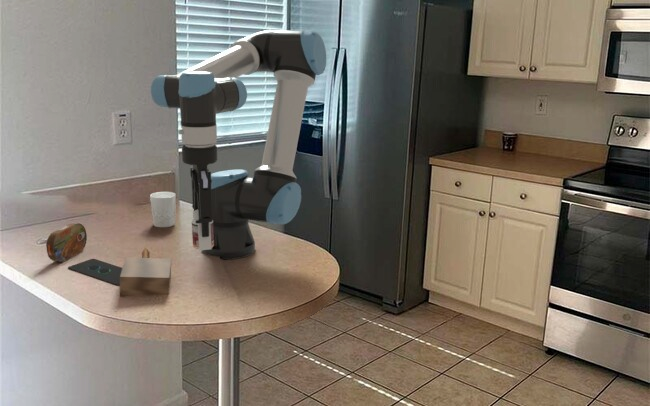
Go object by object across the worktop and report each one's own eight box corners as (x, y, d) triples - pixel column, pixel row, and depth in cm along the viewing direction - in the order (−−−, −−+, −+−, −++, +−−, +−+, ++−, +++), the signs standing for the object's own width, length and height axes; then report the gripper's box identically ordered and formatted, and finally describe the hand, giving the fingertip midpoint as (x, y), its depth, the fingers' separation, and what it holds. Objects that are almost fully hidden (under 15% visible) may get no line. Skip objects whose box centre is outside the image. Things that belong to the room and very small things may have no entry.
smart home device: (93, 257, 164) (144, 274, 154) (93, 263, 165) (145, 280, 154) (66, 266, 157) (118, 284, 147) (66, 273, 158) (118, 291, 148)
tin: (56, 266, 161) (53, 236, 159) (45, 265, 161) (42, 235, 159) (88, 247, 175) (86, 219, 173) (78, 246, 176) (76, 218, 173)
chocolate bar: (150, 253, 173) (150, 246, 172) (151, 268, 162) (150, 260, 161) (140, 254, 172) (140, 246, 172) (141, 269, 161) (140, 261, 160)
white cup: (151, 221, 200) (149, 192, 197) (175, 220, 202) (174, 191, 200) (152, 229, 193) (150, 198, 190) (177, 227, 195) (176, 197, 192)
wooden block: (170, 276, 154) (171, 258, 153) (168, 297, 144) (169, 277, 142) (125, 276, 152) (125, 257, 150) (119, 296, 142) (119, 276, 140)
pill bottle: (204, 241, 142) (203, 207, 140) (218, 246, 139) (217, 211, 137) (188, 246, 139) (186, 211, 136) (202, 251, 136) (200, 215, 134)
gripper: (176, 138, 139) (181, 234, 146) (187, 153, 123) (192, 260, 130) (209, 136, 142) (212, 231, 148) (224, 151, 126) (227, 257, 132)
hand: (203, 245), depth 139 cm, fingers closed on pill bottle, 5 cm apart
